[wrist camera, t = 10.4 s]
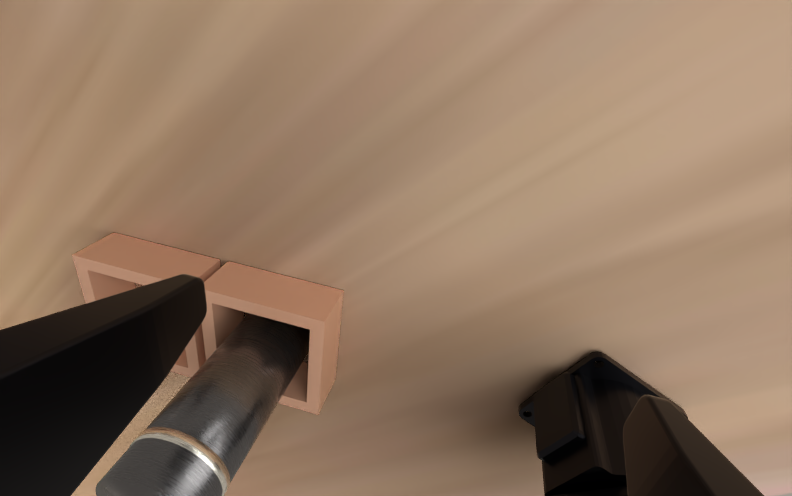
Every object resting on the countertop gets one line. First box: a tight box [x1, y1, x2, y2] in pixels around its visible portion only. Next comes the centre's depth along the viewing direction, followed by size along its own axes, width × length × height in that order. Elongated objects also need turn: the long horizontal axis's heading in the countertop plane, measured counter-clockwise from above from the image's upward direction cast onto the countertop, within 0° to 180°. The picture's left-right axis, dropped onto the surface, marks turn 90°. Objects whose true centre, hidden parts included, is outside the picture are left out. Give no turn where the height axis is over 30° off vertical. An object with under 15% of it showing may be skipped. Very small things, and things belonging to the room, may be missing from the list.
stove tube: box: [96, 313, 310, 496], centre depth 22 cm, size 4×4×12 cm
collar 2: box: [202, 261, 344, 415], centre depth 26 cm, size 7×7×3 cm
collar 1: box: [72, 232, 221, 377], centre depth 27 cm, size 7×7×3 cm
